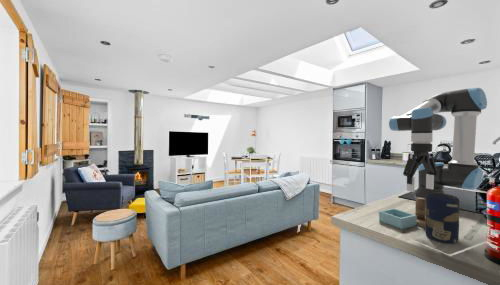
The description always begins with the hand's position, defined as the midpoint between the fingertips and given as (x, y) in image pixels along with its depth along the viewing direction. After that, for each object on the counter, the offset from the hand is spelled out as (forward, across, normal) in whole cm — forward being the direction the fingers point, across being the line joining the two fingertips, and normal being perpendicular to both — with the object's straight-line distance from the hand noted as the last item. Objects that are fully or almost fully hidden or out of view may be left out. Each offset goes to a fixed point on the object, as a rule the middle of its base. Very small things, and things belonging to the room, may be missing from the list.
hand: (420, 190), depth 98 cm
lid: (+14, 0, 0) cm, 14 cm away
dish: (+15, +10, -3) cm, 19 cm away
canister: (+15, +10, +13) cm, 22 cm away
